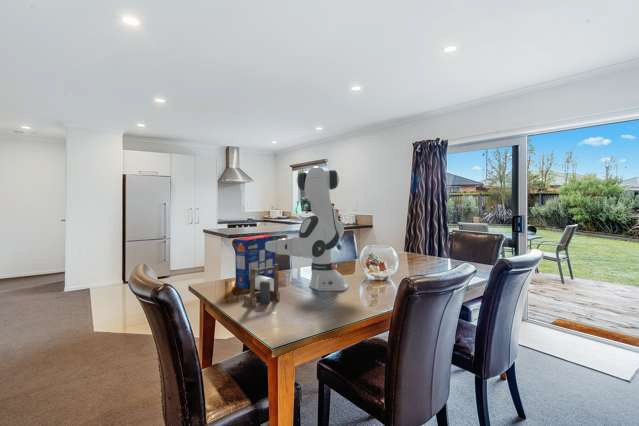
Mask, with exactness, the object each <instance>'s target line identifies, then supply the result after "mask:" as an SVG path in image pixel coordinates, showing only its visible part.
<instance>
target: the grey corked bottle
mask: <svg viewBox="0 0 639 426" xmlns="http://www.w3.org/2000/svg"><path fill="white" fill-rule="evenodd" d="M259 291H260V300H259V304H261V305H268V304H270V303H271V298H270V282H268V281H265V280H262V282H260V290H259Z"/></svg>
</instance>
